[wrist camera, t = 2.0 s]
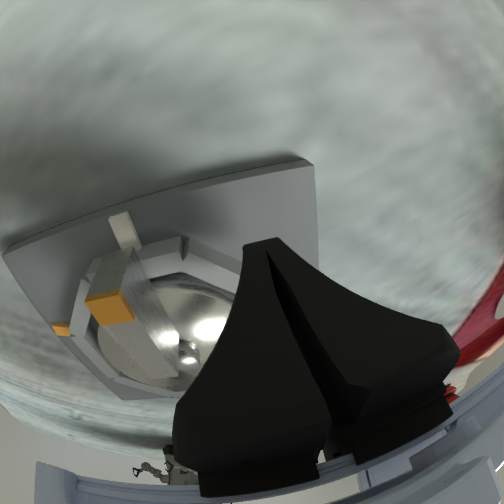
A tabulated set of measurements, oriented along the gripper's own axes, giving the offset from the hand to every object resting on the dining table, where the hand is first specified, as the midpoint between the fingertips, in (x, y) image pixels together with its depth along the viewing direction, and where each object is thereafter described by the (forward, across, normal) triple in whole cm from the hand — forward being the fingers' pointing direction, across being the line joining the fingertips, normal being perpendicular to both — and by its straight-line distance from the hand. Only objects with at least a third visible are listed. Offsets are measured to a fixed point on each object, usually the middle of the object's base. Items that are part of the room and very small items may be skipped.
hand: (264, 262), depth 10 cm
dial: (+2, +6, +4) cm, 7 cm away
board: (+3, +6, +6) cm, 8 cm away
